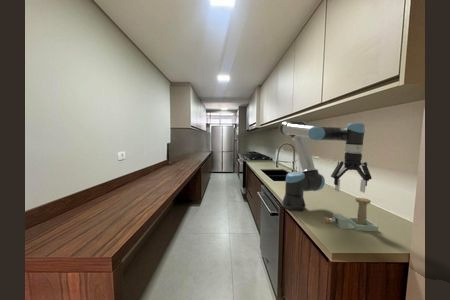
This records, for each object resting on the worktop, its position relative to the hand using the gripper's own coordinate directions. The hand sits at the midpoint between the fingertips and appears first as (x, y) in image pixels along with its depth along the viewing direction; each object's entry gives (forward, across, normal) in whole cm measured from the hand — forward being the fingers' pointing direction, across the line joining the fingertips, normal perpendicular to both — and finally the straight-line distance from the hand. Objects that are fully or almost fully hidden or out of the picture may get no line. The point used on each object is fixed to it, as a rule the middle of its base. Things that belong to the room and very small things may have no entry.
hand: (349, 191), depth 99 cm
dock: (+19, +3, -1) cm, 19 cm away
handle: (+19, +7, -1) cm, 20 cm away
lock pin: (+18, -8, -1) cm, 20 cm away
